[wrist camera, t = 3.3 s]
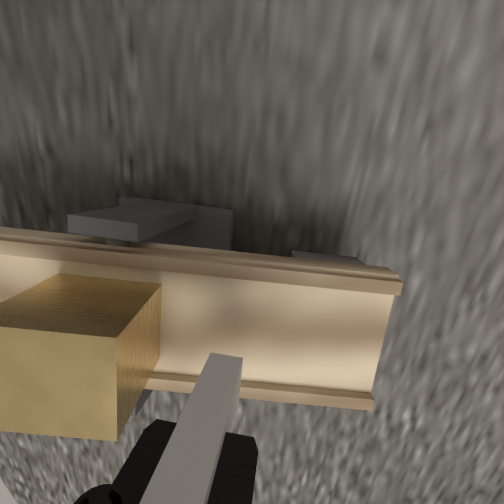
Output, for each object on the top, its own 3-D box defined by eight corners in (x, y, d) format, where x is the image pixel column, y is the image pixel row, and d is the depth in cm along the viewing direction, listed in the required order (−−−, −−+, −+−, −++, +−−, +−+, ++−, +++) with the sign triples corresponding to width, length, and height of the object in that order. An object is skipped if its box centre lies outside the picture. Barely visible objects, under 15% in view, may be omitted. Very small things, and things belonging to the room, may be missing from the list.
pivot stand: (127, 196, 27) (16, 207, 16) (234, 209, 26) (193, 231, 15) (127, 317, 30) (33, 396, 19) (223, 333, 29) (181, 425, 18)
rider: (58, 273, 17) (-40, 322, 12) (162, 284, 18) (116, 337, 12) (62, 349, 19) (-24, 428, 13) (159, 358, 19) (117, 441, 13)
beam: (-80, 200, 22) (-248, 212, 15) (365, 248, 23) (418, 282, 15) (-60, 319, 24) (-196, 381, 17) (342, 359, 25) (378, 435, 18)
